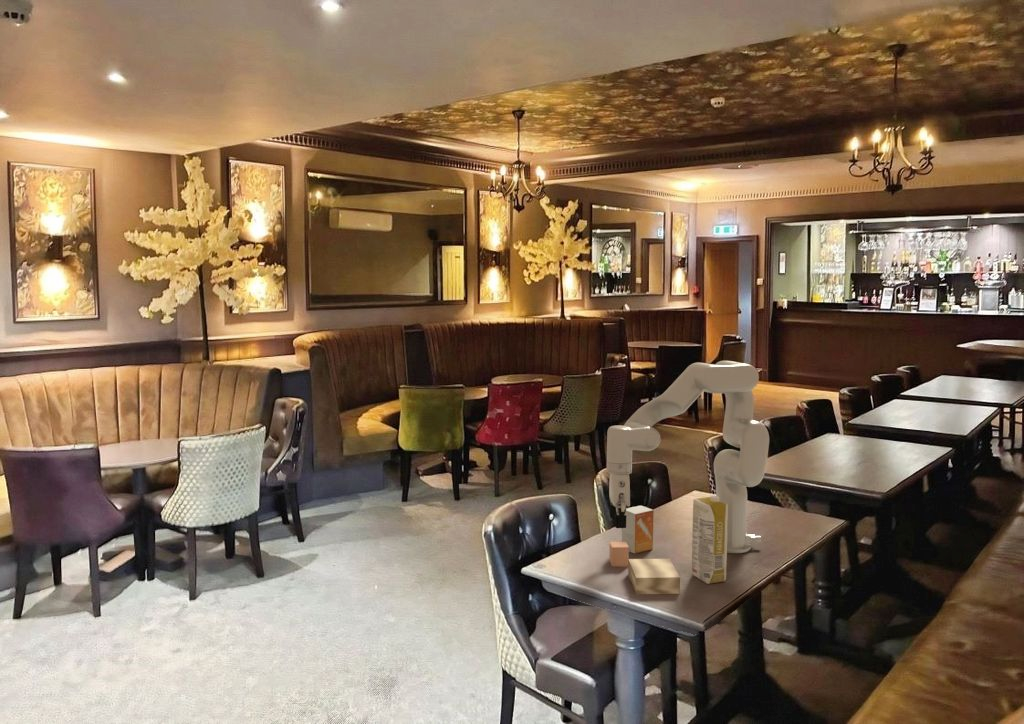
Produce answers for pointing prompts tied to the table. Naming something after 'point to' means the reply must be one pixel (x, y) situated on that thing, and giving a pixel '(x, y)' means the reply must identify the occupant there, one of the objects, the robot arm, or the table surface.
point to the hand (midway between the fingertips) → (617, 522)
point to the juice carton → (709, 539)
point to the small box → (638, 529)
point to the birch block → (653, 576)
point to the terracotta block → (619, 553)
